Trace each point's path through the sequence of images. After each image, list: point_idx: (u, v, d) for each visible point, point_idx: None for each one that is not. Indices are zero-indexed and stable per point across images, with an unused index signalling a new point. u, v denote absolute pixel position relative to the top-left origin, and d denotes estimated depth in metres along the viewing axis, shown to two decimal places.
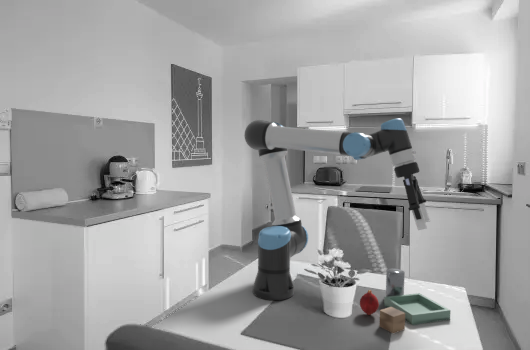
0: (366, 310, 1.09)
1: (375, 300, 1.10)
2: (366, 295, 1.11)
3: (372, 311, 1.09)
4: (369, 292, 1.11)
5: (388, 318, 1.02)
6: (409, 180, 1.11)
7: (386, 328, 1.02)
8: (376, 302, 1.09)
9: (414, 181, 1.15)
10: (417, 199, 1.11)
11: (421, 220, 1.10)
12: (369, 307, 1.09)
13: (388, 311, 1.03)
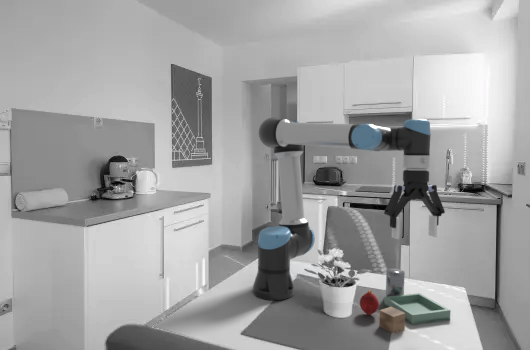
0: (366, 310, 1.09)
1: (375, 300, 1.10)
2: (366, 295, 1.11)
3: (372, 311, 1.09)
4: (369, 292, 1.11)
5: (388, 318, 1.02)
6: (397, 187, 1.08)
7: (386, 328, 1.02)
8: (376, 302, 1.09)
9: (412, 190, 1.08)
10: (398, 208, 1.08)
11: (395, 229, 1.08)
12: (369, 307, 1.09)
13: (388, 311, 1.03)
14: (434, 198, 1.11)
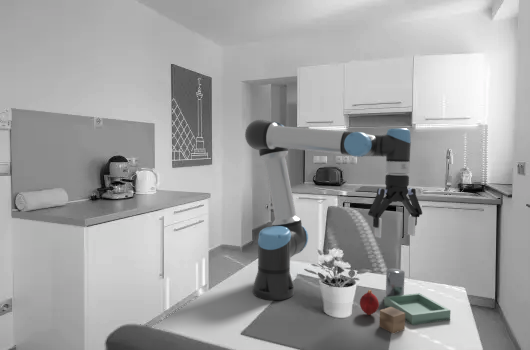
0: (366, 310, 1.09)
1: (375, 300, 1.10)
2: (366, 295, 1.11)
3: (372, 311, 1.09)
4: (369, 292, 1.11)
5: (388, 318, 1.02)
6: (380, 191, 1.17)
7: (386, 328, 1.02)
8: (376, 302, 1.09)
9: (394, 193, 1.18)
10: (381, 210, 1.17)
11: (377, 229, 1.18)
12: (369, 307, 1.09)
13: (388, 311, 1.03)
14: (413, 200, 1.22)
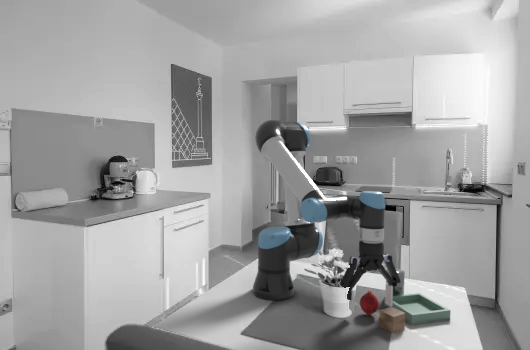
0: (366, 310, 1.09)
1: (375, 300, 1.10)
2: (366, 295, 1.11)
3: (372, 311, 1.09)
4: (369, 292, 1.11)
5: (388, 318, 1.02)
6: (352, 260, 1.08)
7: (386, 328, 1.02)
8: (376, 302, 1.09)
9: (367, 262, 1.09)
10: (354, 281, 1.08)
11: (350, 301, 1.09)
12: (369, 307, 1.09)
13: (388, 311, 1.03)
14: (390, 268, 1.12)
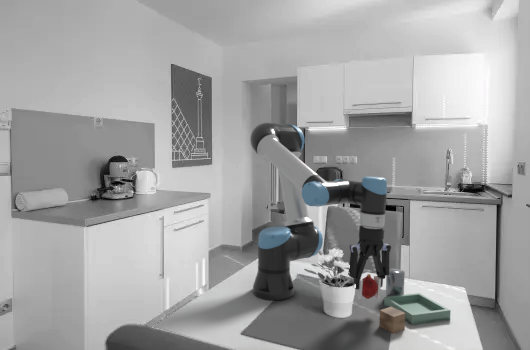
0: (365, 293, 1.10)
1: (374, 284, 1.10)
2: (365, 279, 1.11)
3: (370, 295, 1.09)
4: (368, 276, 1.11)
5: (388, 318, 1.02)
6: (352, 249, 1.08)
7: (386, 328, 1.02)
8: (374, 286, 1.10)
9: (367, 248, 1.09)
10: (359, 270, 1.09)
11: (358, 290, 1.10)
12: (368, 291, 1.09)
13: (388, 311, 1.03)
14: (384, 257, 1.12)
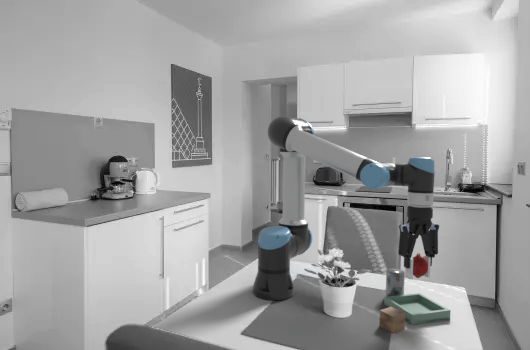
0: (416, 272, 1.11)
1: (425, 262, 1.11)
2: (415, 258, 1.12)
3: (422, 273, 1.11)
4: (418, 255, 1.13)
5: (388, 318, 1.02)
6: (402, 228, 1.10)
7: (386, 328, 1.02)
8: (425, 264, 1.11)
9: (417, 227, 1.11)
10: (410, 249, 1.11)
11: (409, 269, 1.12)
12: (419, 269, 1.10)
13: (388, 311, 1.03)
14: (433, 237, 1.14)
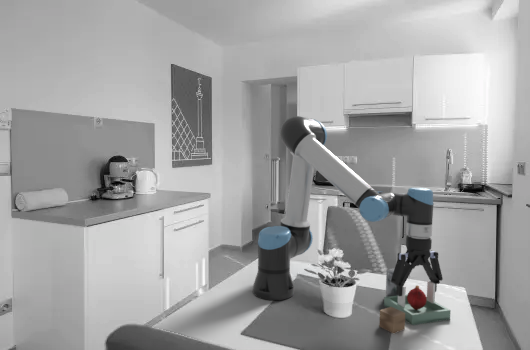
0: (415, 305, 1.12)
1: (423, 295, 1.12)
2: (413, 290, 1.13)
3: (420, 306, 1.11)
4: (417, 287, 1.13)
5: (388, 318, 1.02)
6: (401, 256, 1.11)
7: (386, 328, 1.02)
8: (424, 297, 1.12)
9: (415, 257, 1.11)
10: (404, 277, 1.11)
11: (401, 297, 1.12)
12: (418, 302, 1.11)
13: (388, 311, 1.03)
14: (434, 264, 1.15)
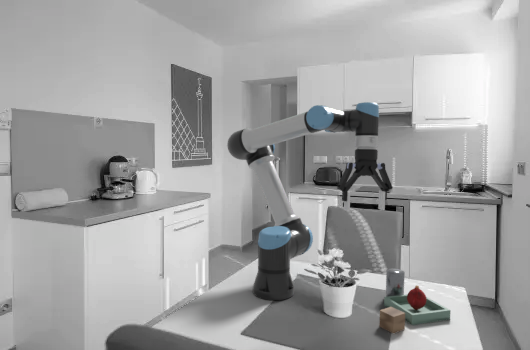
0: (414, 305, 1.12)
1: (423, 295, 1.12)
2: (413, 290, 1.13)
3: (420, 306, 1.11)
4: (417, 287, 1.13)
5: (388, 318, 1.02)
6: (348, 164, 1.18)
7: (386, 328, 1.02)
8: (424, 297, 1.12)
9: (362, 167, 1.19)
10: (349, 183, 1.18)
11: (346, 202, 1.19)
12: (418, 302, 1.11)
13: (388, 311, 1.03)
14: (383, 175, 1.22)
